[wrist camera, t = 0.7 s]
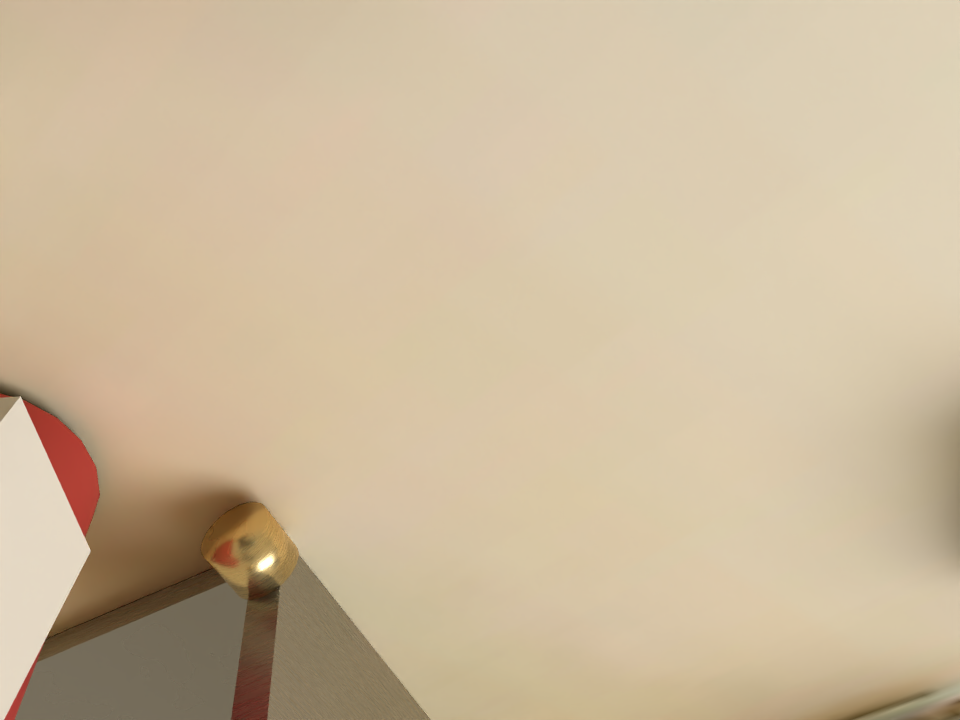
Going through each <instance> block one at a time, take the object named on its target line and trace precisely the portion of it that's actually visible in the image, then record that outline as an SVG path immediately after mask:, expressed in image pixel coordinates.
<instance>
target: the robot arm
mask: <svg viewBox="0 0 960 720" xmlns="http://www.w3.org/2000/svg"><path fill="white" fill-rule="evenodd" d="M90 552H91V550H90V548H89V546H88V544H87V542H86V539H85V537H84V535H83V533H82V531H81V528H80V526H79V524H78V522H77V520H76V517H75V515H74V513H73V511H72V508H71V506H70V504H69V502H68V500H67V497H66V495H65V493H64V491H63V489H62V486H61V484H60V482H59V480H58V478H57V475H56V473H55V471H54V469H53V467H52V464H51V462H50V460H49V458H48V456H47V453H46V451H45V449H44V447H43V445H42V442H41V440H40V438H39V436H38V434H37V431H36V429H35V427H34V425H33V423H32V420H31V418H30V416H29V414H28V412H27V409H26V407H25V405H24V403H23V401H22V398H21V396H17V397H5V398H0V720H4V719H5V717H6V715H7V713H8V711H9V709H10V707H11V705H12V703H13V701H14V699H15V698H16V696H17V694H18V692H19V690H20V688H21V686H22V684H23V682H24V680H25V678H26V676H27V674H28V672H29V670H30V668H31V666H32V664H33V663H34V661H35V659H36V657H37V655H38V653H39V651H40V649H41V647H42V645H43V643H44V641H45V639H46V637H47V635H48V633H49V631H50V629H51V627H52V626H53V624H54V622H55V620H56V618H57V616H58V614H59V612H60V610H61V608H62V606H63V604H64V602H65V600H66V598H67V596H68V594H69V592H70V591H71V589H72V587H73V585H74V583H75V581H76V579H77V577H78V575H79V573H80V571H81V569H82V567H83V565H84V563H85V561H86V559H87V557H88V555H89V554H90Z"/></svg>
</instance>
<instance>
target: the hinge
mask: <svg viewBox="0 0 960 720" xmlns="http://www.w3.org/2000/svg"><path fill="white" fill-rule="evenodd" d="M201 553H202V555H203V557H204V558H205V559H206V560H207V561H208V562H209V563H210V565H211V566H212V567H213V569H210V570H208V571H205V572H203V573H201V574H198V575H196V576H194V577H191V578H189V579H187V580H184V581H182V582H180V583H177V584H175V585H173V586H170V587H168V588H165V589H163V590H161V591H158V592H156V593H154V594H151V595H149V596H147V597H144V598H142V599H140V600H137V601H135V602H133V603H130V604H128V605H125V606H123V607H121V608H118V609H116V610H114V611H111V612H109V613H107V614H104V615H102V616H100V617H97V618H95V619H93V620H90V621H88V622H85V623H83V624H81V625H78V626H76V627H74V628H71V629H69V630H67V631H64V632H62V633H60V634H57V635H55V636H53V637H50V638H48V639H46V640H45V642H44V645H43V647H42V650H41V653H40V655H39V658H38V660H37V663H36V665H35V668H34V671H33V673H32V676H31V678H30V681H29V684H28V686H27V689H26V691H25V694H24V697H23V699H22V702H21V704H20V707H19V709H18V712H17V715H16V717H15V720H430V719H429V718H428V716H427V715H426V714H425V713H424V711H423V710H422V709H421V708H420V706H419V705H418V704H417V703H416V701H415V700H414V699H413V698H412V696H411V695H410V694H409V693H408V691H407V690H406V689H405V688H404V686H403V685H402V684H401V682H400V681H399V680H398V679H397V677H396V676H395V675H394V674H393V672H392V671H391V670H390V669H389V667H388V666H387V665H386V664H385V662H384V661H383V660H382V659H381V657H380V656H379V655H378V654H377V652H376V651H375V650H374V649H373V647H372V646H371V645H370V644H369V642H368V641H367V640H366V639H365V637H364V636H363V635H362V634H361V632H360V631H359V630H358V629H357V627H356V626H355V625H354V624H353V622H352V621H351V620H350V619H349V617H348V616H347V615H346V614H345V612H344V611H343V610H342V609H341V607H340V606H339V605H338V603H337V602H336V601H335V600H334V598H333V597H332V596H331V595H330V593H329V592H328V591H327V590H326V588H325V587H324V586H323V585H322V583H321V582H320V581H319V580H318V578H317V577H316V576H315V575H314V573H313V572H312V571H311V570H310V568H309V567H308V566H307V565H306V563H305V562H304V561H303V560H302V558H301V557H300V556H299V553H298V549H297V547H296V545H295V544H294V543H293V542H292V540H291V539H290V538H289V537H288V535H287V534H286V533H285V532H284V530H283V529H282V528H281V527H280V525H279V524H278V523H277V521H276V520H275V519H274V518H273V516H272V515H271V514H270V513H269V511H268V510H267V509H266V508H265V506H264V505H262V504H261V503H257V502H250V503H245V504H242V505H239V506H237V507H235V508H233V509H231V510H229V511H228V512H226V513H225V514H224V515H222V516H221V517H220V518H219V519H218V520H217V521H216V522H215V523H214V524H213V525H212V526H211V527H210V529H209V530H208V531H207V533H206V535H205V536H204V539H203V541H202V544H201Z"/></svg>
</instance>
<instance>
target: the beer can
mask: <svg viewBox="0 0 960 720" xmlns="http://www.w3.org/2000/svg"><path fill="white" fill-rule="evenodd" d="M5 397H11V396H7V395H3V394H0V398H5ZM22 401H23V403H24V405H25V407H26V409H27V412H28V414H29V416H30V418H31V420H32V423H33V425H34V427H35V429H36V431H37V434H38V436H39V438H40V440H41V442H42V445H43V447H44V449H45V451H46V453H47V456H48V458H49V460H50V462H51V464H52V467H53V469H54V471H55V473H56V475H57V478H58V480H59V482H60V484H61V486H62V489H63V491H64V493H65V495H66V497H67V500H68V502H69V504H70V506H71V508H72V511H73V513H74V515H75V517H76V520H77V522H78V524H79V526H80V528H81V531H82V533H83V535H84V537H85V536H86V533H87V531H88V528H89V526H90V523H91V521H92V518H93V515H94V512H95V508H96V505H97V502H98V499H99V496H100V493H99V485H98V478H97V470H96V466H95V464H94V462H93V461H92V459H91V457H90V455H89V453H88V452H87V450H86V448H85V446H84V445H83V443H82V441H81V440H80V439H79V438H78V437H77V436H76V435H75V434H74V433H73V432H72V431H71V430H70V429H68V428H67V427H66V426H65V425H64V424H63V423H62V422H61V421H60V420H59V419H58V418H57V417H55V416H53V415H51V414H49V413H47V412H46V411H44V410H42V409H40V408H38V407H36V406H34V405H33V404H31V403H29V402H27V401H25V400H22ZM45 640H46V639H45ZM44 642H45V641H44ZM43 645H44V643H43ZM43 645H42V647H43ZM42 647H41V649H40V651H39V653H38V655H37V657H36V659H35V661H34V663H33V664H32V666H31V668H30V670H29V672H28V674H27V676H26V678H25V680H24V682H23V684H22V686H21V688H20V690H19V692H18V694H17V696H16V698H15V699H14V701H13V703H12V705H11V707H10V709H9V711H8V713H7V715H6V717H5V719H4V720H15V717H16V715H17V712H18V709H19V707H20V704H21V702H22V699H23V697H24V694H25V691H26V689H27V686H28V684H29V681H30V678H31V676H32V673H33V671H34V668H35V665H36V663H37V660H38V658H39V655H40V653H41V650H42Z"/></svg>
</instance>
